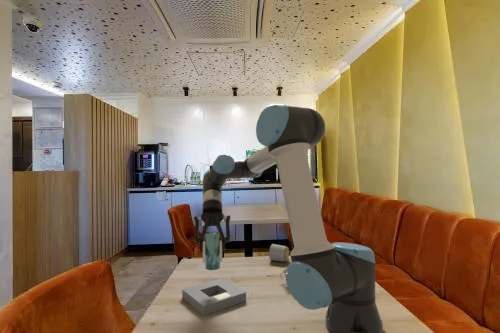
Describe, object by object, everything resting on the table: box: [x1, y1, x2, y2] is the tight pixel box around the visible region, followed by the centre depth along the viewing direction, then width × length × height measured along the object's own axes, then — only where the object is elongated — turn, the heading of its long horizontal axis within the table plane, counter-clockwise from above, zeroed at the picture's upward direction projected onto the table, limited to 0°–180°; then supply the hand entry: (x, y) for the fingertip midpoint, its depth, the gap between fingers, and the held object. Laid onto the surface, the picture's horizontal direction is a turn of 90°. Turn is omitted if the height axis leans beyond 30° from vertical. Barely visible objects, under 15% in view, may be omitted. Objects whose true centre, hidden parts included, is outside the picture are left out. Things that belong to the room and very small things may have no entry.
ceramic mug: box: [268, 243, 290, 263], centre depth 144 cm, size 11×8×8 cm
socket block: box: [181, 278, 247, 317], centre depth 102 cm, size 16×16×3 cm
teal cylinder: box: [204, 231, 221, 271], centre depth 102 cm, size 5×5×12 cm
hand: (212, 260), depth 99 cm, fingers closed on teal cylinder, 5 cm apart
